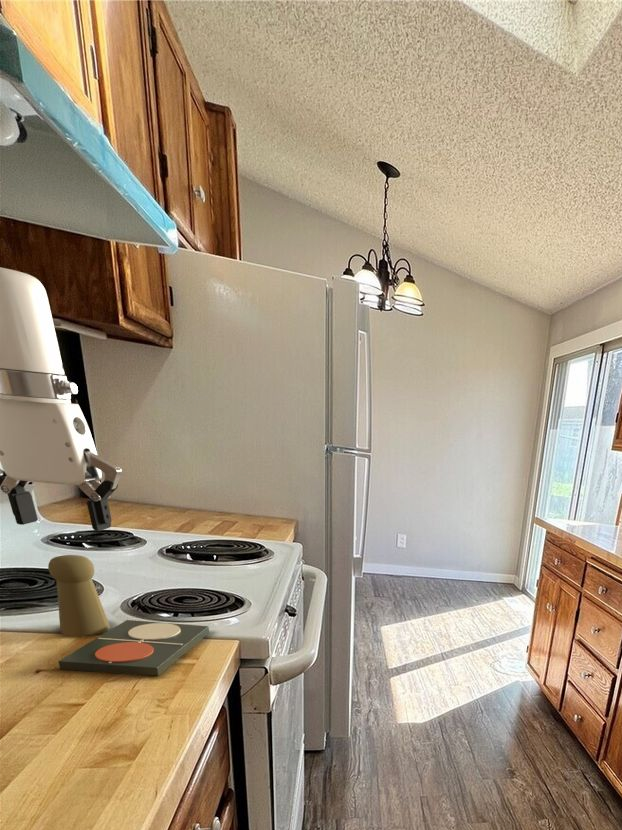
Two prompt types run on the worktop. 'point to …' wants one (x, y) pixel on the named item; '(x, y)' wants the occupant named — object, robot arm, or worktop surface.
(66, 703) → the worktop surface
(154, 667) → the board
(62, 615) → the cork
